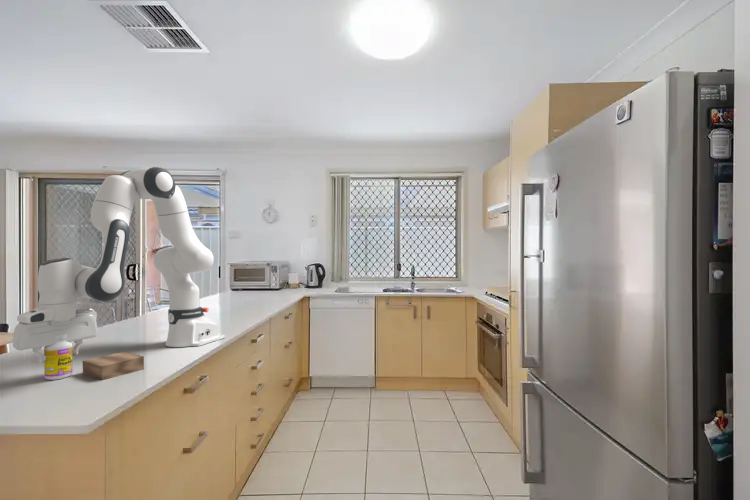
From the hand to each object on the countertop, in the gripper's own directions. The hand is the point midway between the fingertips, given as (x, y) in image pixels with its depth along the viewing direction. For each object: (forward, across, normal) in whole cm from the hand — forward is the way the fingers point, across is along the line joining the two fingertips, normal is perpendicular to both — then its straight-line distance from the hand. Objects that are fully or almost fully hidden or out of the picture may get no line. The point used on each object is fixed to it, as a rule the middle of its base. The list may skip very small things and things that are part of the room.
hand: (58, 358), depth 119 cm
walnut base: (+6, -11, +9) cm, 15 cm away
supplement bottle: (+6, 0, 0) cm, 6 cm away
